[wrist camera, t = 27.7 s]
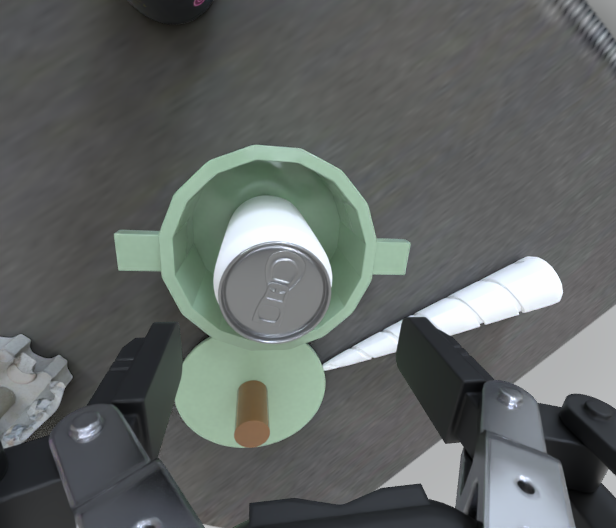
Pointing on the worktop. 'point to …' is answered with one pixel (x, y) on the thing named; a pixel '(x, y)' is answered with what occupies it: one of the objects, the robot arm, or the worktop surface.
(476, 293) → the unicorn horn
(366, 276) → the pan
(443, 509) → the robot arm
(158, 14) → the supplement container
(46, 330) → the worktop surface
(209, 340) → the pan lid
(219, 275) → the can
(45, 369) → the egg carton
